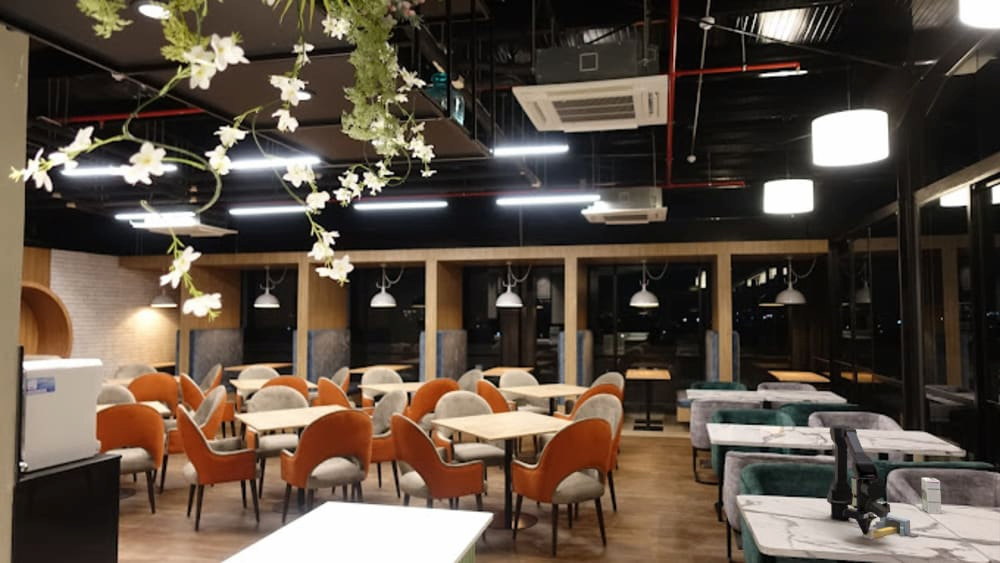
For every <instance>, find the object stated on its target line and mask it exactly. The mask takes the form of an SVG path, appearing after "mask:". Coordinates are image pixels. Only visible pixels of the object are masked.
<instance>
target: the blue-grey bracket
mask: <svg viewBox="0 0 1000 563" xmlns="http://www.w3.org/2000/svg"><path fill="white" fill-rule="evenodd" d="M889 520H894V521H897V522H900V533H899V536H900V537H903V536H906V537H910V538H918V537H919V534H917V533H914V532H911V520H910V519H907V518H903V517H899V516H894V515H891V514H888V515H887V517H883V518H879V520H878V521H877V520H875V524H872V527H874V528H875V530H878V529H883V528H887V527H889Z"/></svg>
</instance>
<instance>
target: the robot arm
mask: <svg viewBox="0 0 1000 563" xmlns="http://www.w3.org/2000/svg"><path fill="white" fill-rule="evenodd" d="M857 434H858V432H857V429H856V428H853V427H850V426H849V425H832V426H831V427H830V428H829V435H830V440H831V441H832V443H833V444H834V480H833V481H832V482H831V484H830V486H829V487H830V489H829V491H828V493H827V495H826V501H827V503H828V504H830V517H831V520H838V521H848V522H849V521H850V519H852V520H855V522H857V524H858V526H859V528H860V530H861V532H862V534H865V535H867V533H868V530H870V527H871V524H872V522H873V521H874V520H875V519H878V518H879V519H880V518H883V517H887V515H889V513H891V504H890V503H888V502H882V503H881V502H878V500H880V499H882V498H883V496H884V494H885V493H884V489H883V488H882V486H881V485H879V484H878V483H879V482H880V481H881V480H880V477H881V476H880V472H879V470H878V468H877V466H876V464H875V463H874V461H873V459H872V458H871V457H870V456H869V455H867V454H866V452H865V450H864V447H863V446H862V444H861V441H860V440H859V439H860V438H859V437H858V435H857ZM848 452H849V453H850V455H851V458H852V462H851V470H852V474H854V475H855V479H856V495H854V498H856V505H855V506H854V507H853V508H851V507H849V506H852V501H853V493H852V486H851V485H850V484H849V482H848ZM876 500H877V502H876Z"/></svg>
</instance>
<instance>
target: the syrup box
mask: <svg viewBox="0 0 1000 563" xmlns="http://www.w3.org/2000/svg"><path fill="white" fill-rule="evenodd" d="M920 479H921V480H920V481H921V482H920V483H921V504H922V505H921V506H922V510H923V511H924V512H926V513H928V514H935V515H942V496H941V481H940V480H938V479H937V478H934V477H921V478H920Z"/></svg>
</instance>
